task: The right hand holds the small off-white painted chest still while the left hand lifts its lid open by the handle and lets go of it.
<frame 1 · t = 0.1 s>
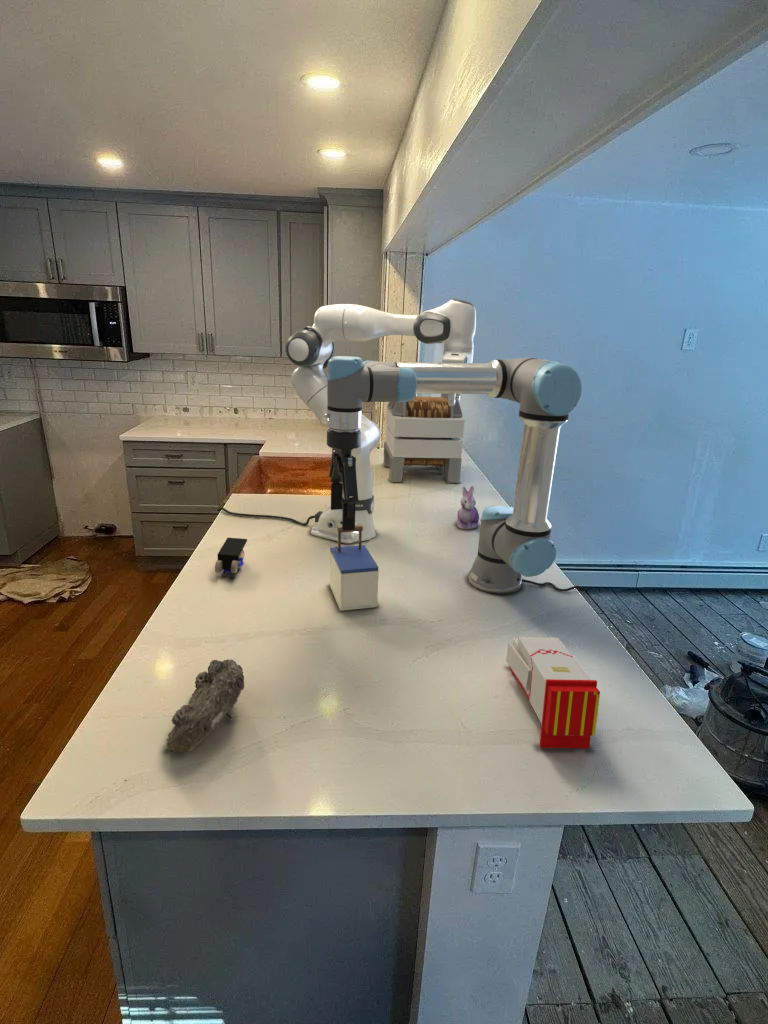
left hand: (453, 403, 174), 48 cm above the counter, tool pointing down, fingers open, 8 cm apart
right hand: (342, 519, 132), 28 cm above the counter, tool pointing down, fingers open, 13 cm apart
toy: (542, 700, 117), on the counter
transformer: (419, 473, 275), on the counter
chest: (352, 596, 156), on the counter
lid: (353, 546, 151), point 15 cm above the counter, hinge at 0.0°
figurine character: (232, 569, 168), on the counter
figurine: (467, 525, 210), on the counter
fossil: (212, 717, 108), on the counter
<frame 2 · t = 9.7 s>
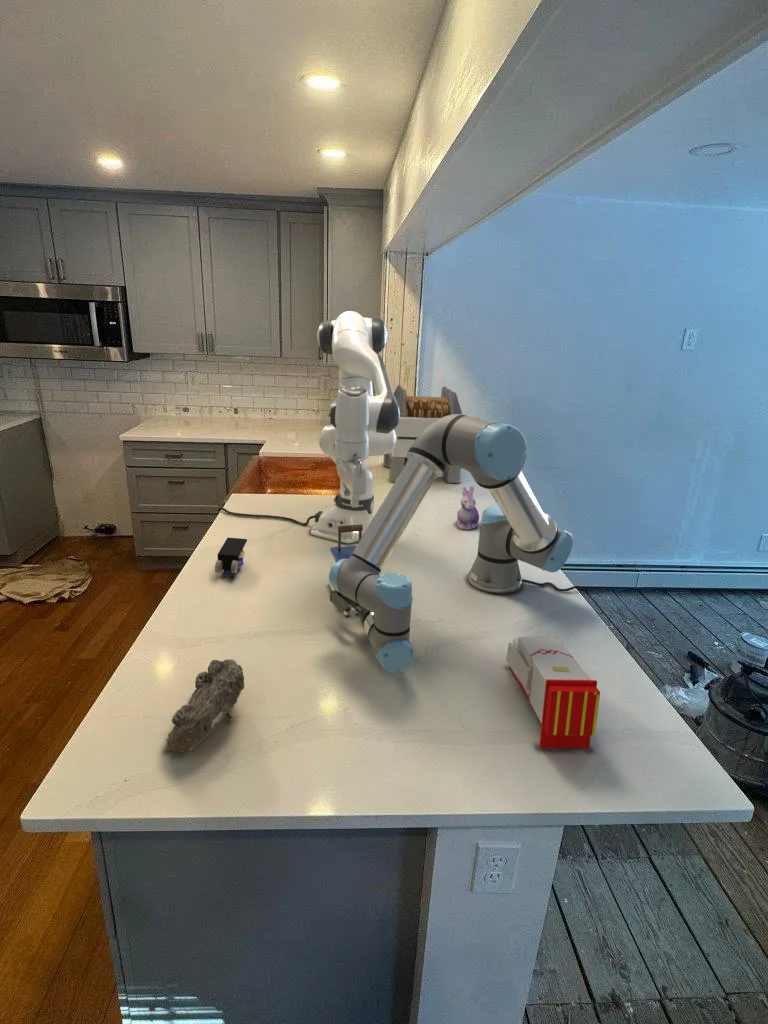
left hand: (350, 500, 151), 26 cm above the counter, tool pointing down, fingers open, 8 cm apart
right hand: (356, 579, 150), 7 cm above the counter, tool horizontal, fingers closed on chest, 10 cm apart
chest: (352, 596, 156), on the counter, touching right hand
everything else where it was.
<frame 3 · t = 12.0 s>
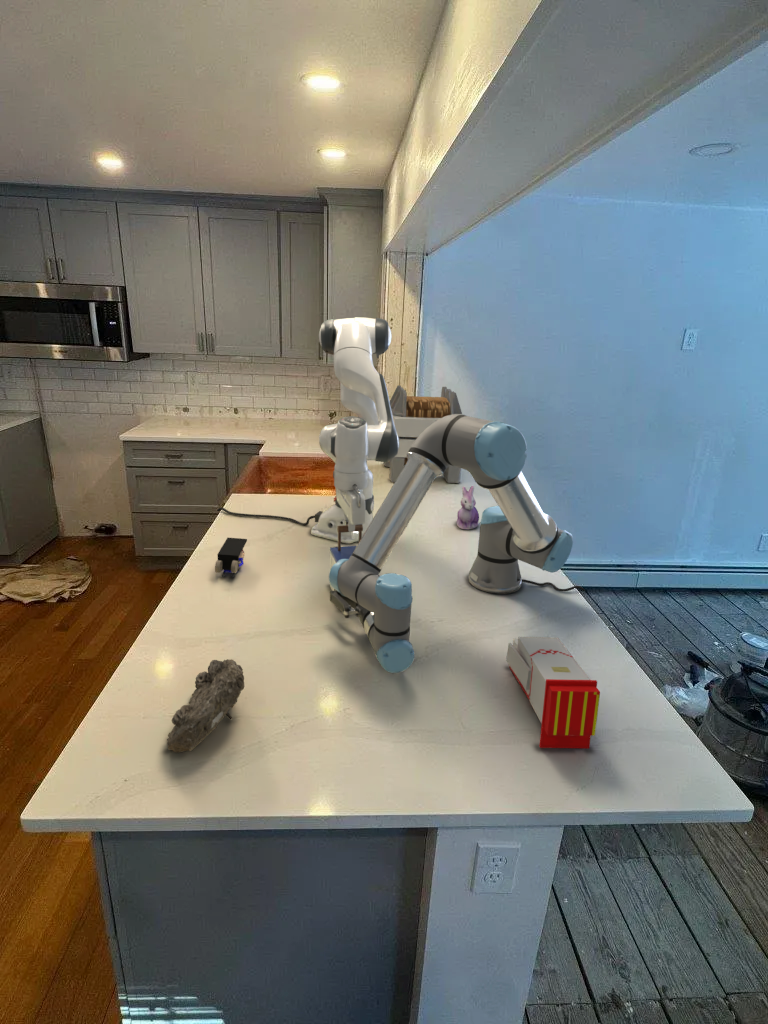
left hand: (349, 528, 154), 18 cm above the counter, tool pointing down, fingers closed on lid, 2 cm apart
right hand: (356, 579, 150), 7 cm above the counter, tool horizontal, fingers closed on chest, 10 cm apart
chest: (352, 596, 156), on the counter, touching right hand
lid: (353, 546, 151), point 15 cm above the counter, hinge at 0.0°, touching left hand
everything else where it was.
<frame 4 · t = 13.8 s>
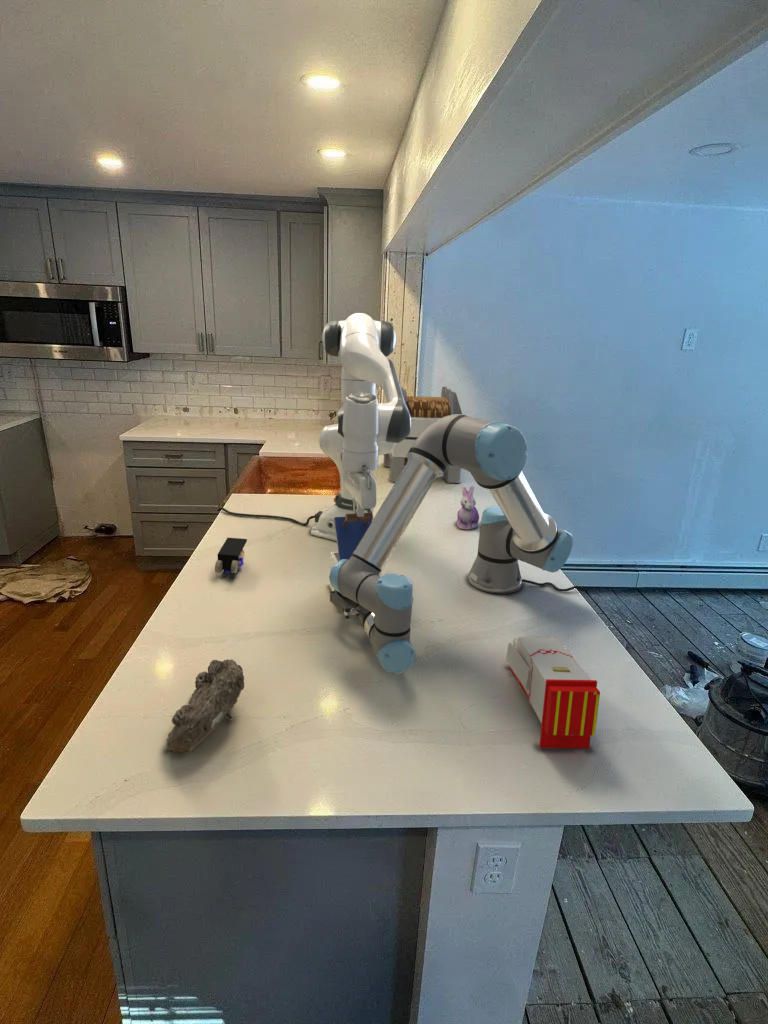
left hand: (358, 514, 143), 26 cm above the counter, tool pointing down, fingers closed, pressing on lid
right hand: (356, 579, 150), 7 cm above the counter, tool horizontal, fingers closed on chest, 10 cm apart
chest: (352, 596, 155), on the counter, touching right hand
lid: (359, 539, 144), point 19 cm above the counter, hinge at 49.4°, touching left hand
everything else where it was.
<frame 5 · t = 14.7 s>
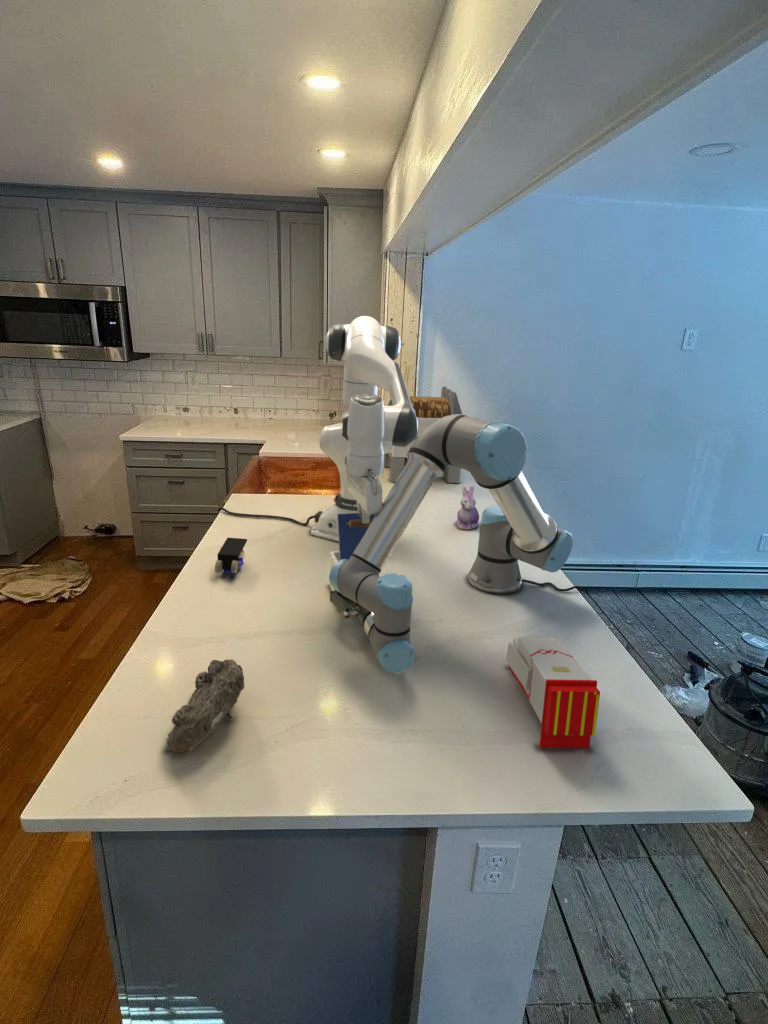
left hand: (363, 520, 138), 26 cm above the counter, tool pointing down, fingers closed
right hand: (356, 579, 150), 7 cm above the counter, tool horizontal, fingers closed on chest, 10 cm apart
chest: (352, 596, 155), on the counter, touching right hand
lid: (361, 542, 142), point 19 cm above the counter, hinge at 69.0°, touching left hand
everything else where it was.
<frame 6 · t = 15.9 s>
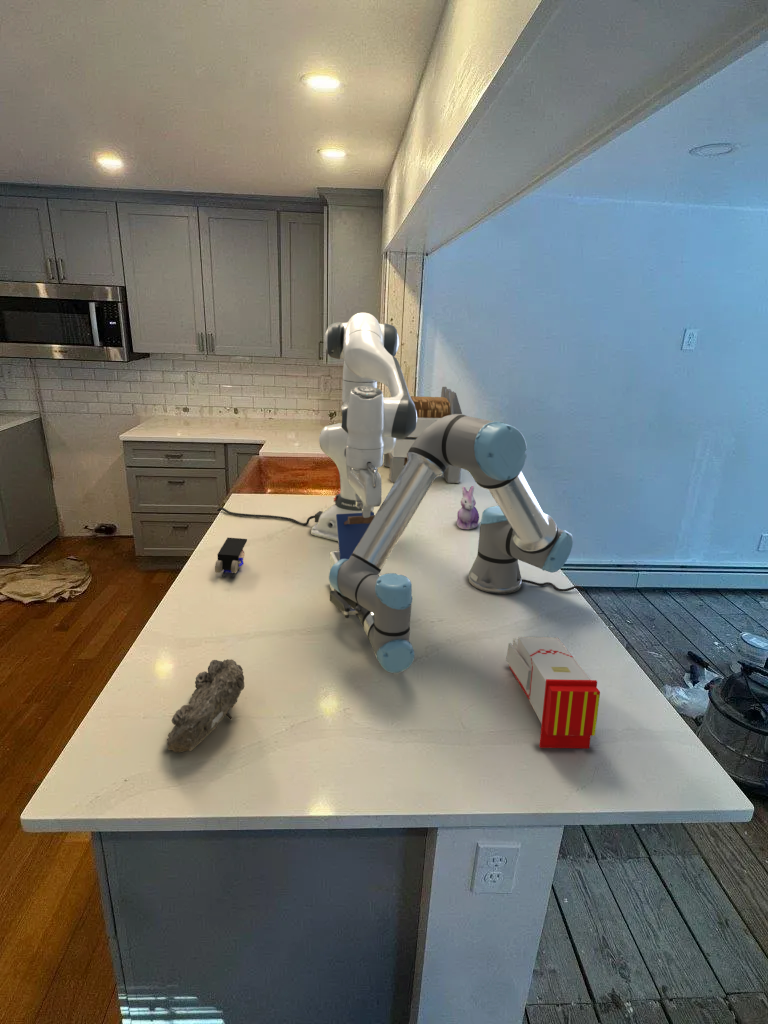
left hand: (362, 512, 139), 27 cm above the counter, tool pointing down, fingers open, 5 cm apart
right hand: (356, 579, 150), 7 cm above the counter, tool horizontal, fingers closed on chest, 10 cm apart
chest: (352, 596, 156), on the counter, touching right hand
lid: (360, 540, 143), point 19 cm above the counter, hinge at 62.0°
everything else where it was.
when the right hand's fingers open (7 cm above the counter, at t = 18.9 s): chest stays where it is, on the counter.
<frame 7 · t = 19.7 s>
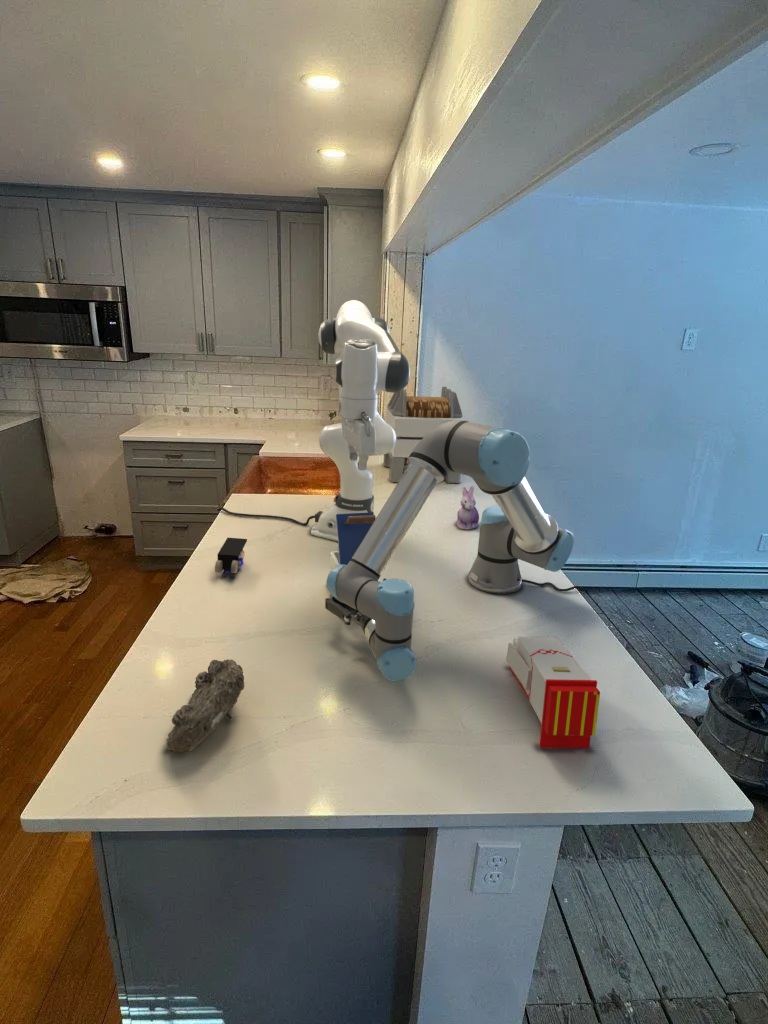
left hand: (357, 464, 141), 38 cm above the counter, tool pointing down, fingers open, 8 cm apart
right hand: (358, 585, 146), 7 cm above the counter, tool horizontal, fingers open, 13 cm apart
chest: (352, 596, 156), on the counter
lid: (360, 540, 143), point 19 cm above the counter, hinge at 61.5°
everything else where it was.
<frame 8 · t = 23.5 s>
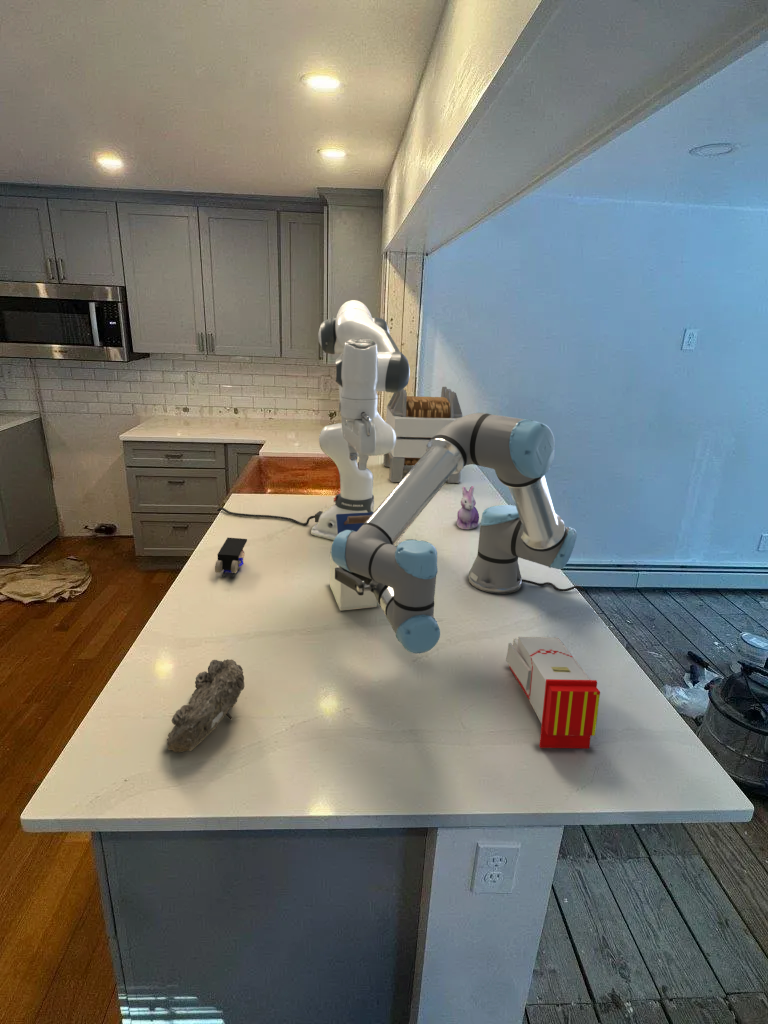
left hand: (357, 464, 141), 38 cm above the counter, tool pointing down, fingers open, 8 cm apart
right hand: (370, 555, 134), 20 cm above the counter, tool horizontal, fingers open, 13 cm apart
nothing on the counter moved.
at the end: lid at +62° (first picture: +0°); the left hand is holding nothing; the right hand is holding nothing; chest tilted 0°; chest never tilted more than 1° during the clip; chest moved 0.0 cm from its start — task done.
